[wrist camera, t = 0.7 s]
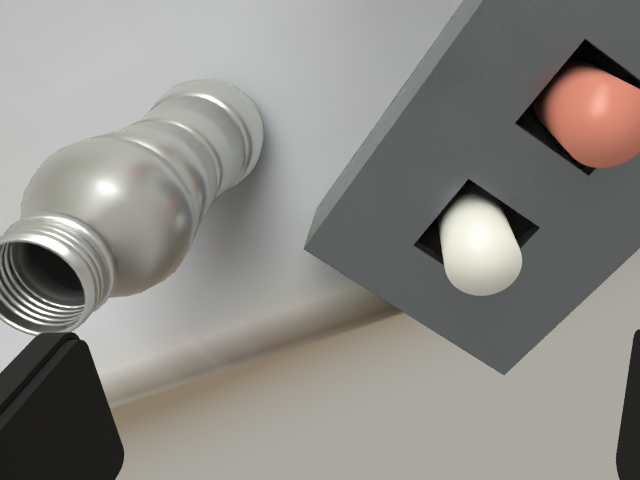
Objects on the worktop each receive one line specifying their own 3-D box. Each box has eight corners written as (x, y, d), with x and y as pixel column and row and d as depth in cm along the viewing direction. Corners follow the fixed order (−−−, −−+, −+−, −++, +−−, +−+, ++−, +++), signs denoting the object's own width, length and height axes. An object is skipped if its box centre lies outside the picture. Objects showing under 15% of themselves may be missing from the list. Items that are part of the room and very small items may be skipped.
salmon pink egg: (567, 46, 28) (607, 65, 23) (623, 87, 29) (674, 115, 23) (518, 106, 30) (544, 137, 24) (571, 145, 30) (609, 183, 25)
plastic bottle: (284, 163, 36) (170, 359, 18) (186, 185, 37) (-9, 386, 19) (253, 59, 33) (85, 168, 15) (149, 87, 35) (-114, 215, 17)
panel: (657, -274, 25) (728, -340, 20) (880, -80, 27) (1000, -91, 22) (317, 207, 37) (303, 248, 32) (489, 318, 39) (504, 375, 34)
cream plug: (463, 172, 32) (477, 214, 26) (515, 207, 32) (538, 255, 27) (424, 221, 33) (429, 270, 28) (473, 253, 34) (487, 308, 28)
